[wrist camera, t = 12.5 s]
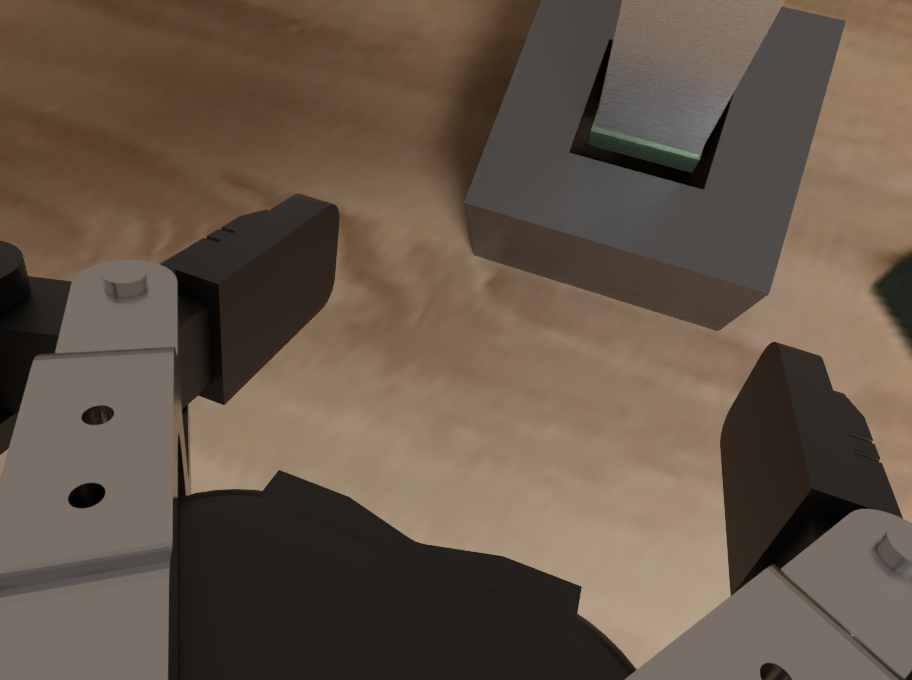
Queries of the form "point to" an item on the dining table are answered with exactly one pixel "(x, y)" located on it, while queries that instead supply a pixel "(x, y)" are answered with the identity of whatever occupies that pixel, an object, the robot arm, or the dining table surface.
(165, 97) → the dining table surface
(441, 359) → the dining table surface
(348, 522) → the robot arm
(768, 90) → the block
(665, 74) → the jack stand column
